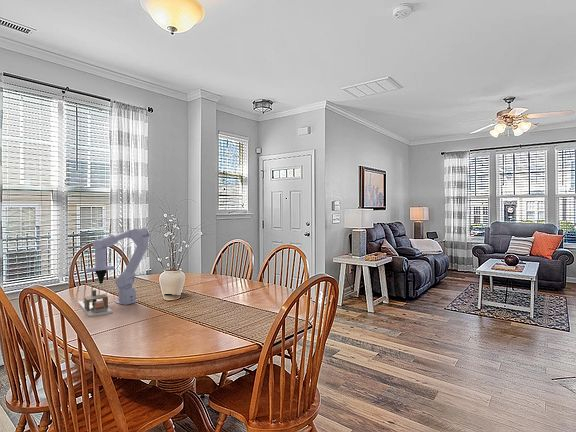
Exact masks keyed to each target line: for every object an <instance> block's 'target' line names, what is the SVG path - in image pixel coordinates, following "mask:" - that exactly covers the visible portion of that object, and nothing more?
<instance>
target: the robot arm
mask: <svg viewBox="0 0 576 432" xmlns="http://www.w3.org/2000/svg"><path fill="white" fill-rule="evenodd" d="M127 238H128V239H131V241H133V242H134V245H136V248H135V250H134V252H133V253H132V256H131V258H130V260H129V261H128V264H127V265H126V267H125V269H124V270H123V271H122V272H121V273H120V275H119V276H117V278H116V279H115V285H116V287H117V289H118V295H117V296H118V300H116V301H115V303H114V304H119V305H124V306H126V305H130V304H133V303H134V304H135V303H137V302H138V301H137V291H136V289H135V288H133V285H134V283H135V280H136V279H135V277H136V271H137V269H138V267H139V265H140V263H141V261H142V259H143V257H144V255H145V253H146V251H147V250H148V247H149V238H150V232H149V230H148V229H147V228H145V227H142V228H141V227H140V228H133V229H129V230H126V231H123V232H121V233H119V234H112V233H110V234H108V236H106V237H101V238H100V239H95V240H94V241H93V242H92V247H93V249H94V262H95V263H94V266H95V267H90V268H86V273H95V274H96V276H97V279H98V283H99V284H100V285H101V284H102V285H103V283H104V278H105V277H106V274H107V271H115V269H116V268H115V265H113V266H111V265H109V266H108V265H107V249H108V248H109V247H112V246H115V245H117V244H118V243H119V242H120V241H122V240H124V239H127Z"/></svg>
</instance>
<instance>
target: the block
mask: <svg viewBox="0 0 576 432" xmlns="http://www.w3.org/2000/svg"><path fill="white" fill-rule="evenodd" d="M103 308H104V302H103V300H101V301H97V302H94V310H97V309H103Z"/></svg>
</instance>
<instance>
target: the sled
mask: <svg viewBox="0 0 576 432" xmlns="http://www.w3.org/2000/svg"><path fill="white" fill-rule="evenodd" d="M95 295H97V290H96V289H93V290H91V296H95ZM94 302H96V300H92V305H90V310H91V311H92V312H93V313H96V312H102V311H107V308H105V306H104V308H103V309H97V310H94Z"/></svg>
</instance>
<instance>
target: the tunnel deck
mask: <svg viewBox="0 0 576 432" xmlns="http://www.w3.org/2000/svg"><path fill="white" fill-rule="evenodd" d="M83 298H84V299H83V300H78V301H77V304H78V305H79V306H80V308H81V307H82V308H81V309H82V310H83V312H84V313H85V314H86V315H87V317H89V318H90V317H96V316H102V315H103V316H104V315H107V314H112V313H113V310H112V309H111V308H110V307H109V296H108V295H106V294H105V293H104V294H102V293H101V294H98V295H97V294H96V295H95V296H92V295H89V296H88V295H87V296H84V297H83ZM92 300H96V302H97V301H103V302H104V306H105V308H107V311H102V312H96V313H93V312H92V311H91V310H90V305H92Z"/></svg>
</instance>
